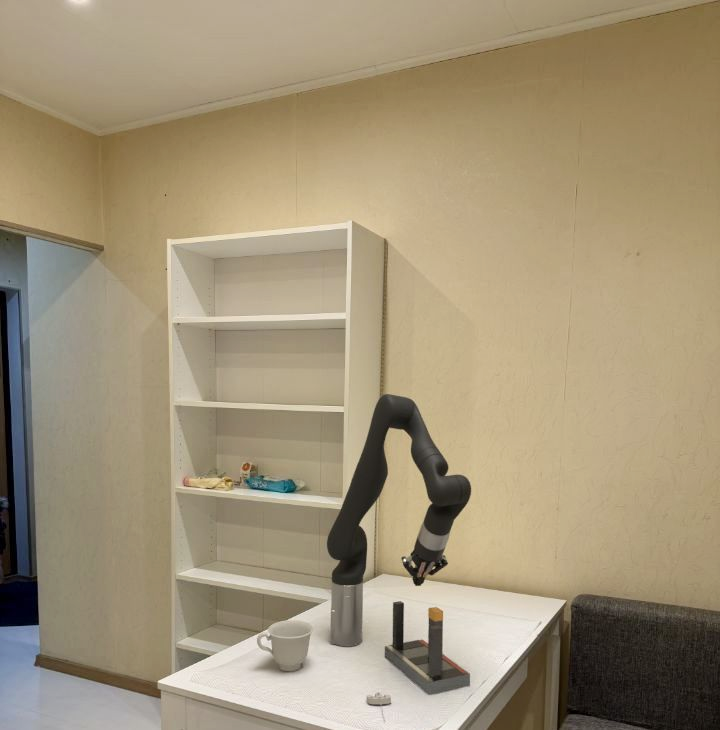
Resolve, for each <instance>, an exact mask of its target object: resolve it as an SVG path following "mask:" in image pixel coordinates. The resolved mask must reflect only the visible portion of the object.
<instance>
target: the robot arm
mask: <svg viewBox="0 0 720 730" xmlns="http://www.w3.org/2000/svg"><path fill="white" fill-rule="evenodd" d="M371 416H372V417H371V421H370V425H369V429H368V432H367V436H366V439H365V443H364V446H363V449H362V451H361V454H360V457H359V460H358V463H356V467H355V470H354V472H353V474H352V478H351V482H350V483H349V484H350V485H349V487H348V489H347V492H346V495H345V498H344V501H343V502H342V505H341V507H340V510H339V512H338V514H337V516H336V518H335V521H334V522H333V525H332V527H331V529H330V530H329V532H328V536H327V538H326V539H327V541H326V549H327V552H328V555H329V557H331V558H332V559H333V560H335V561H339V562H338V564H337V565H336V567H335V568H334V569H333V570H332V572H331V599H330V600H331V601H330V602H331V605H330V631H329V633H330V637H329V638H330V639H329V643H330V644H331V645H336V646H340V647H353V646H357V645H360V644H361V643H362V642H363V617H364V616H363V608H364V607H363V605H364V600H363V599H364V575H365V573H366V569H367V559H368V538H367V534H366V532H365V530H364V528H363V527H362V526H360V524H361V522H362V521H363V519H364V517H365V515H367V513H368V512H369V511H370V509H371V508H372V507H373V506H374V504H375V503H376V502H377V501H378V499H379V497H380V496H381V493H382V491H383V489H384V486H385V484H386V481H387V477H388V476H389V475H388V474H389V468H388V462H387V457H386V451H385V443H386V437H387V434H388V431H389V430H390V429H395V430H404V432H405V433H407V435H408V436H409V437H410V439H411V445H410V454H411V458H412V460H413V463H414V464H415V466H416V468H417V469H418V470H419V472H420V474H421V476H422V478H423V481H424V485H425V489H426V494H427V498H428V500H429V501H430V502H431V504H429V506H428V507H427V510H426V512H425V516H424V518H423V521H422V523H421V525H420V528H419V531H418V534H417V537H416V540H415V543H414V546H413V547H414V548H413V550H412V552H411V553H409V554H410V555H409V556H408V557H406V556H402V557H401V559H400V560H401V562H402V565H403V567H404V569H405V570H406V571H407V572H408V574H409V575H410V576H411V577H412V579H411V580H412V582H413V584H414V586H415V587H421V586H422V584H424V583H425V580H426V577H427V578H428V576H432V577H433V576H434V575H435V574H436V573H438V572H439V571H441V570H442V569H444V568H445V567H446V566H447V565H448V564H449V562H448V559H447V558H446V555H443V554H444V552H445V549H446V546H447V543H448V541H449V538H450V535H451V530H452V527H453V525H454V522H455V520H456V518H457V517H458V516H459V515H460V514H461V512H462V511H463V510H464V508H465V507H466V506H467V505H468V503H469V501H470V499H471V496H472V485H471V482H470V481H469V478H467V477H466V476H465V475H462V474H451V475H447V473H448V472H449V464H448V463H449V462H448V461H447V460H446V458H445V456H443V455H444V454H442V452H441V451H440V449H439V448H438V447H437V445H436V444H435V442H434V441H433V439H432V437H431V435H430V432H429V431H428V428H427V425H426V422H425V421H424V419H423V417H422V414H421V412H420V410H419V407H418V406H417V404H416V402H415V401H414V400H413V399H411V398H409V397H406V396H401V395H396V394H390V393H389V394H388V393H385V394H383V395H382V396H380V398H379V399H378V400H377V401H376V404H375V406H374V410H373V413H372V415H371ZM412 562H413V563H412ZM412 564H414V566H413V565H412Z"/></svg>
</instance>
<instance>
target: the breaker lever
mask: <svg viewBox="0 0 720 730" xmlns="http://www.w3.org/2000/svg"><path fill="white" fill-rule="evenodd" d="M427 612H428V614H427V615H428V632H427V634H428V637H427V638H428V639H427V640H428V641H427V643H428V654H429V627H430V626H436V625H438V626H440V627H441V628H442V639H441V658H442V654H443V647H444V645H443V642H444V641H443V640H444V639H443V638H444V637H443V633H444V632H443V631H444V629H443V628H444V627H443V626H444V624H443V623H444V610H442V609H440V608H439V607H437V606H433V607H428V610H427Z"/></svg>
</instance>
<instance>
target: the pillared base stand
mask: <svg viewBox="0 0 720 730" xmlns="http://www.w3.org/2000/svg"><path fill="white" fill-rule="evenodd" d="M404 615H405V603H404V602H403V601H401V600H400V601H393V602H392V644H389V645H385V646H384V658H385V659H386V660H387V661H388V662H390V663H391V665H393V666H394V667H395V668H396V669H398V670H399V671H400V672H401V673H402V674H403V675H405V676H406V677H407V678H408V679H409V680H410V681H412V682H413V683H414V684H415V685H416V686H417V687H418V688H419V689H421V690H422V691H423V692H424V693H425V694H427V695H428V696H431V695H436V694H440V693H445V692H449V691H453V690H457V689H463V688H465V687H467V688H468V687H470V686H471V673H470V672H468V671H467V670H466V669H464V668H463V667H461V665H459V664H457V663H456V662H454V661H453V660H452V659H450V658H449V657H447V656H446V655H445V654H443V653H442V658H441V639H442V628H441V627H440V626H438V625H436V626H430V627H429V626H428V629H429V654H428V641H426V640H424V639H415V640H411V641H410V640H409V641H405V642H404V635H405V634H404V633H405V632H404V628H405V626H404V625H405V624H404V620H405V619H404V618H405V616H404Z"/></svg>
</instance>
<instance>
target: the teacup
mask: <svg viewBox="0 0 720 730" xmlns="http://www.w3.org/2000/svg"><path fill="white" fill-rule="evenodd" d="M313 631H314V627H313V626H312V625H311V624H310V623H309V622H307V621H303V620H295V619H290V620H289V619H287V620H282V621H281V620H280V621H277V622H274V623H273V624H271V625H269V627H268V628H267V632H266V631H261V632H260V633H259V634H258V635H257V638H256V642H257V647H259V648H260V649H261V650H262V651H265V652H269V653H270V654H271V655H272V657H273V659H274V661H275V662H276V663H277V664H278V665H279V666H278V668H279V669H280V670H281V671H284V672H295V671H298V670H300V669H301V667H302V666H301V665H302V664H301V663H303V662H305V660H306V659H307V658H308V657H307V656H308V653H309V647H310V639H311V634H312V633H313ZM268 633H269V634H268ZM264 637H265V639H266V640H267V642H270V641H271V648H270V647H269V646H268V647H267V646H265V645H263V644H262V642H261V639H263V638H264Z"/></svg>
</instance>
